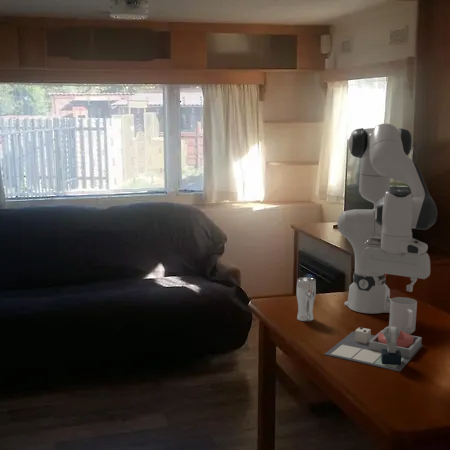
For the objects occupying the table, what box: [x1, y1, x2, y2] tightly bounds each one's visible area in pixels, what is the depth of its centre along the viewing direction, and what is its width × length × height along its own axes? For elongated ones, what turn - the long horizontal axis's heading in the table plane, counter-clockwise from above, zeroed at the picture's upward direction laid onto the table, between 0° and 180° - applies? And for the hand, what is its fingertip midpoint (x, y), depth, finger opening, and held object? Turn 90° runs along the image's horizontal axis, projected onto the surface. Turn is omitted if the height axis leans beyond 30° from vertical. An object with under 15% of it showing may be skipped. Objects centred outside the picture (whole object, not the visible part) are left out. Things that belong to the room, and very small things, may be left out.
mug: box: [388, 296, 418, 335], centre depth 217 cm, size 12×9×11 cm
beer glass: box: [296, 276, 317, 322], centre depth 231 cm, size 7×7×15 cm
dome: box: [377, 329, 414, 348], centre depth 203 cm, size 11×11×6 cm
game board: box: [324, 326, 424, 373], centre depth 201 cm, size 25×24×4 cm
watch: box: [381, 325, 401, 365], centre depth 191 cm, size 6×8×11 cm
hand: (393, 288), depth 189 cm, fingers open, 8 cm apart
